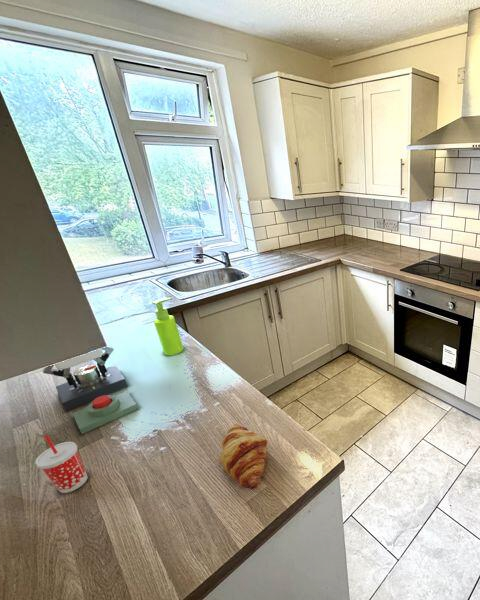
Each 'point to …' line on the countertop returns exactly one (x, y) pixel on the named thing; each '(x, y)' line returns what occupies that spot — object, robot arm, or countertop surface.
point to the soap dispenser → (167, 329)
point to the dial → (87, 376)
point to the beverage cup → (62, 466)
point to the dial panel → (91, 389)
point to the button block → (104, 412)
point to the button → (101, 401)
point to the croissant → (244, 456)
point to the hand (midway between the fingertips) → (89, 380)
